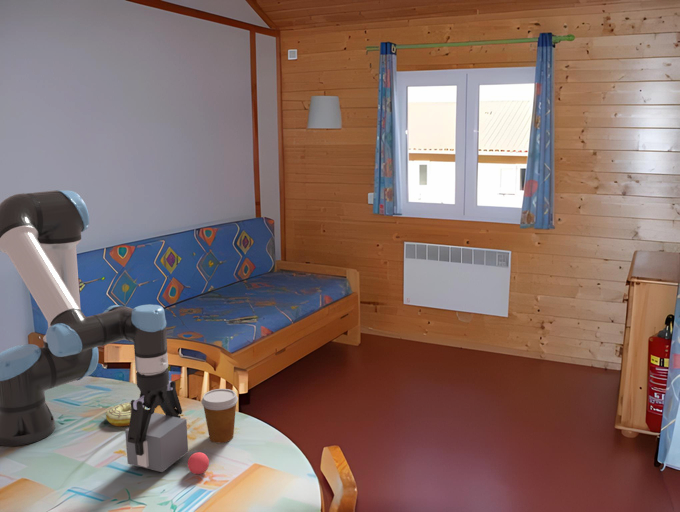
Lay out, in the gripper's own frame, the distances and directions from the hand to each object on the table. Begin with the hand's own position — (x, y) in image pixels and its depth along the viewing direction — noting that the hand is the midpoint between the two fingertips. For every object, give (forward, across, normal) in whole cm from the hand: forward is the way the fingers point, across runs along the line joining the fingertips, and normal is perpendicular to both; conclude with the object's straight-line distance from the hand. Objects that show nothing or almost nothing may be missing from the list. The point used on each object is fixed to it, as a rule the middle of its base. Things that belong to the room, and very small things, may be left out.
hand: (158, 454), depth 153 cm
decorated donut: (+3, +16, +24) cm, 29 cm away
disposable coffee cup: (+2, +17, -7) cm, 19 cm away
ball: (0, 0, -12) cm, 12 cm away
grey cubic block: (+1, 0, 0) cm, 1 cm away
